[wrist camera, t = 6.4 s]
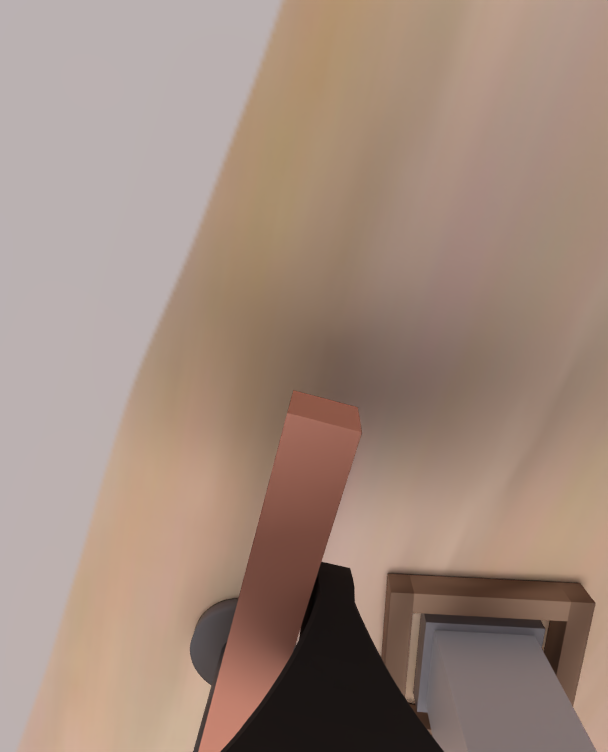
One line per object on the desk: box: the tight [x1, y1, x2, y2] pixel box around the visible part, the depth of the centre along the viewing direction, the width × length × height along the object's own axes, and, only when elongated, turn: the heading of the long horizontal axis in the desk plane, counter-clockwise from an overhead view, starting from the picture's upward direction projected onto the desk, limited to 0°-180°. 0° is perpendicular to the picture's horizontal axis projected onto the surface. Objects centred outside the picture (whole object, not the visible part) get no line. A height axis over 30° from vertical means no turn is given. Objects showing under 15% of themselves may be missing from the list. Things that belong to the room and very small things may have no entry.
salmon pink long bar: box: [198, 390, 362, 752], centre depth 12 cm, size 17×3×2 cm, turn 166°
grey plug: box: [413, 613, 597, 752], centre depth 18 cm, size 5×5×7 cm
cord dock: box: [190, 574, 595, 752], centre depth 18 cm, size 18×9×7 cm, turn 89°
